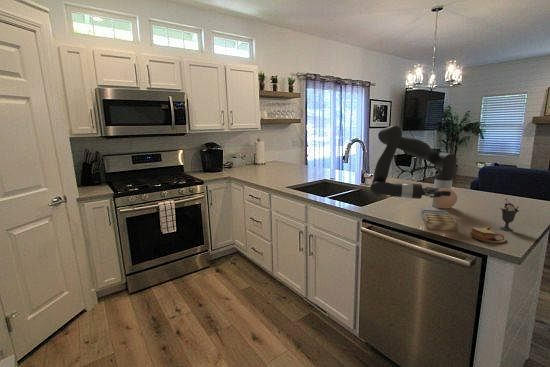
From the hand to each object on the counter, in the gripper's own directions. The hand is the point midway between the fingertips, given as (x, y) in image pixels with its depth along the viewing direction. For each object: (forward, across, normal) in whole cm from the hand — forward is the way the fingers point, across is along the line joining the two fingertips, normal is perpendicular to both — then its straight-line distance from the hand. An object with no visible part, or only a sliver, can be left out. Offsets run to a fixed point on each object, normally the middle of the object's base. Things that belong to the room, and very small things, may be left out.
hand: (449, 193), depth 133 cm
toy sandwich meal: (+14, -12, +17) cm, 25 cm away
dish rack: (-3, 0, +17) cm, 17 cm away
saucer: (-2, 0, +3) cm, 3 cm away
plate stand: (-4, +11, +17) cm, 21 cm away
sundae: (+26, +2, +17) cm, 31 cm away
